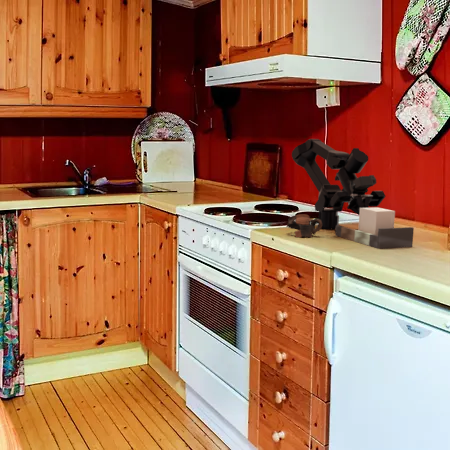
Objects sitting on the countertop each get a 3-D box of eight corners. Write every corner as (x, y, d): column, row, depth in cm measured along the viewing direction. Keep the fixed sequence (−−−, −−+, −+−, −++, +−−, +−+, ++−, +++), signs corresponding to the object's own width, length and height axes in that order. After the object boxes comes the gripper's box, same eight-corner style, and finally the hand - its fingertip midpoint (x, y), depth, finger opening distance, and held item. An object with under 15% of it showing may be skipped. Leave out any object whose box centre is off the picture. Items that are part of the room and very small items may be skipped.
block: (358, 232, 204) (359, 207, 203) (375, 231, 206) (377, 207, 205) (374, 236, 196) (376, 211, 194) (393, 236, 198) (395, 211, 197)
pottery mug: (286, 239, 205) (283, 215, 208) (291, 247, 213) (288, 224, 216) (323, 232, 202) (319, 208, 205) (326, 240, 211) (323, 217, 214)
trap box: (335, 235, 211) (336, 217, 210) (365, 234, 216) (366, 216, 215) (379, 248, 189) (380, 229, 189) (412, 246, 194) (413, 227, 193)
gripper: (337, 166, 203) (354, 204, 195) (384, 166, 211) (403, 203, 202) (322, 188, 212) (339, 225, 203) (368, 188, 219) (386, 223, 211)
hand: (367, 219), depth 205 cm, fingers closed, pressing on block
